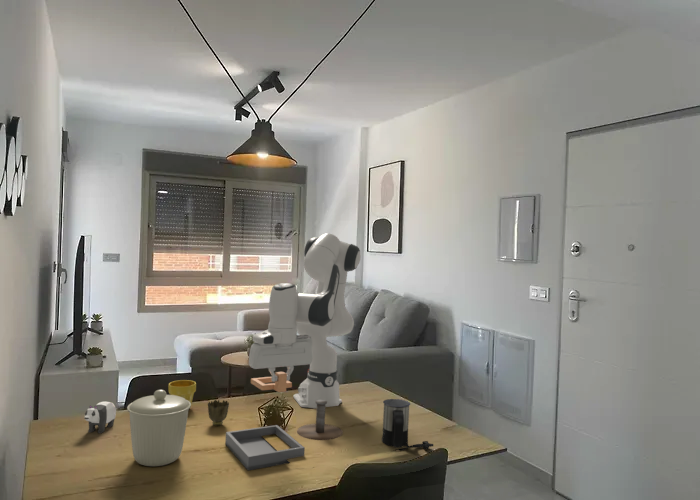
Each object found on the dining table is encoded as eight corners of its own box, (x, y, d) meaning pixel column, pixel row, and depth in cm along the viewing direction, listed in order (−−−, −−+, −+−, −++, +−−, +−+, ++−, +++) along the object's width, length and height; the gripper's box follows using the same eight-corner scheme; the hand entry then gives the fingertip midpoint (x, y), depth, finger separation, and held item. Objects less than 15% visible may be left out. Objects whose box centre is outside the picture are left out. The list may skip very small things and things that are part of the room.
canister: (167, 443, 176) (170, 378, 175) (201, 460, 164) (203, 390, 164) (113, 459, 162) (116, 389, 161) (145, 478, 150) (148, 402, 150)
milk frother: (376, 442, 186) (378, 399, 186) (418, 438, 191) (420, 396, 191) (393, 458, 172) (395, 412, 172) (437, 454, 178) (440, 409, 177)
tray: (225, 444, 177) (225, 432, 177) (276, 436, 186) (277, 425, 186) (248, 470, 158) (248, 456, 158) (304, 460, 167) (304, 447, 167)
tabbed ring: (250, 383, 176) (251, 366, 176) (279, 380, 181) (279, 363, 181) (267, 393, 164) (267, 375, 164) (297, 390, 169) (297, 372, 169)
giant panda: (102, 422, 192) (103, 396, 192) (116, 424, 191) (118, 397, 191) (77, 437, 177) (78, 408, 177) (93, 439, 177) (94, 409, 177)
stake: (289, 431, 192) (290, 397, 192) (329, 425, 200) (330, 393, 200) (308, 447, 178) (310, 410, 178) (351, 440, 186) (352, 405, 186)
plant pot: (161, 410, 209) (162, 384, 209) (177, 402, 219) (178, 378, 219) (185, 413, 206) (186, 388, 206) (200, 406, 216) (201, 381, 216)
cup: (230, 422, 199) (231, 400, 199) (224, 429, 191) (225, 406, 191) (211, 420, 199) (212, 399, 199) (203, 427, 192) (204, 404, 192)
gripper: (307, 333, 176) (306, 375, 176) (247, 336, 166) (245, 381, 166) (316, 336, 171) (315, 380, 171) (255, 339, 160) (253, 386, 160)
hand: (280, 380), depth 168 cm, fingers closed on tabbed ring, 2 cm apart
